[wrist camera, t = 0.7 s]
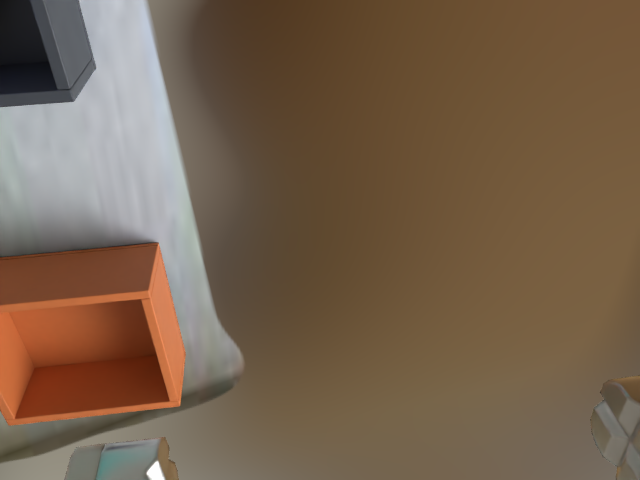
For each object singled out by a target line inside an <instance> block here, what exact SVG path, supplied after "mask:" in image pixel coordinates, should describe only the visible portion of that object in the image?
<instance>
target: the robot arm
mask: <svg viewBox="0 0 640 480" xmlns="http://www.w3.org/2000/svg"><path fill="white" fill-rule="evenodd" d="M600 393H601V395H602V397H603V398H604V400H603V401H602V402H600V403H599V404H598V405H597V406H595V407H594V409H593V413H592V416H591V430H592V435H593V437H594V440H595V443H596V445H597V447H598V449H599V451H600V453H601V454H602V456H603V457H604V458H605V459H606V460H608V461H609V462H611V463H612V464H614V465H615V466H617V474H616V480H640V375H639V376H632V377H625V378H619V379H611V380H608V381H607V382H605V383H604V384H603V387H602V389H601V391H600ZM168 458H169V445H168V443H167V440H166V438H165V437H162V438H154V439H144V440H136V441H126V442H117V443H109V444H98V445H90V446H83V447H76V449H75V451H74V453H73V454H72V456H71V457H70V461H69V465H68V468H67V472H66V476H65V479H64V480H179V478H178V473H177V468H176V465H175V462H173V461H171V460H169V459H168Z"/></svg>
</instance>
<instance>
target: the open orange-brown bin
mask: <svg viewBox="0 0 640 480" xmlns="http://www.w3.org/2000/svg"><path fill="white" fill-rule="evenodd" d="M185 356H186V354H185V349H184V345H183V341H182V337H181V333H180V329H179V325H178V321H177V317H176V312H175V308H174V304H173V300H172V296H171V292H170V288H169V284H168V280H167V276H166V271H165V267H164V263H163V259H162V255H161V251H160V247H159V243H150V244H139V245H128V246H117V247H107V248H96V249H85V250H74V251H64V252H53V253H42V254H31V255H21V256H10V257H0V411H1V413H2V414H3V416H4V418H5V420H6V421H7V423H8V425H18V424H27V423H36V422H45V421H53V420H62V419H71V418H80V417H88V416H97V415H106V414H115V413H123V412H132V411H141V410H150V409H158V408H167V407H176V406H180V401H181V392H182V383H183V373H184V364H185Z"/></svg>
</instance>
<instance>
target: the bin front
mask: <svg viewBox="0 0 640 480" xmlns="http://www.w3.org/2000/svg"><path fill="white" fill-rule="evenodd" d="M95 69H96V65H95V62H94V58H93V54H92V50H91V47H90V43H89V39H88V35H87V31H86V28H85V24H84V20H83V16H82V12H81V9H80V5H79V1H78V0H0V107H8V106H22V105H35V104H49V103H62V102H74V101H75V99H76V98H77V96H78V95H79V93H80V92H81V90H82V89H83V87H84V86H85V84H86V82H87V81H88V79H89V78H90V76H91V75H92V73H93V72H94V70H95Z"/></svg>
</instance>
